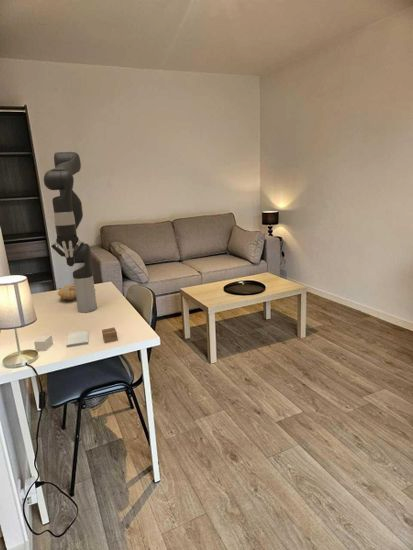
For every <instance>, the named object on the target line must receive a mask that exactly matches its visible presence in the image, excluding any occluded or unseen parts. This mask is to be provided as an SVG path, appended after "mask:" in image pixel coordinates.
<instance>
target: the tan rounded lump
mask: <svg viewBox="0 0 413 550" xmlns="http://www.w3.org/2000/svg"><path fill="white" fill-rule="evenodd" d="M57 295H58V296H59V298H60V299H63V300H70V301H76V294H75V287H74V283H71V284H66V285H65V286H63V287H62V288H60V289H58V291H57Z"/></svg>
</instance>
